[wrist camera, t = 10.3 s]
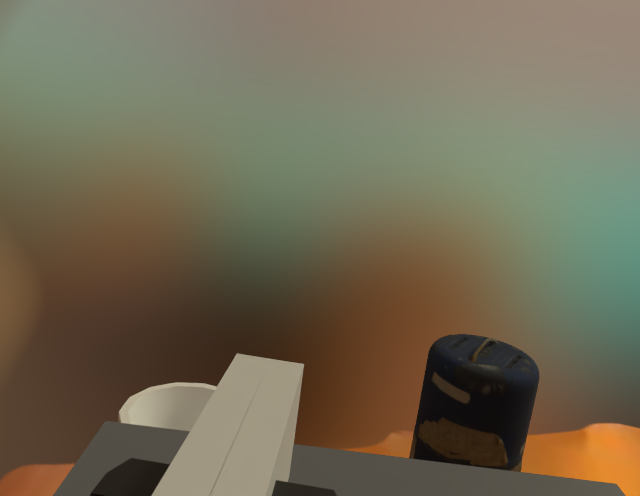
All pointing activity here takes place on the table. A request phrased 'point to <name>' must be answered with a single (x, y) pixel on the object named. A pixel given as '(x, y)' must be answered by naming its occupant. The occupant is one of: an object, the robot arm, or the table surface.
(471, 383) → the canister
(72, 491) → the switch panel
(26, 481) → the table surface
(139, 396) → the foam cup
